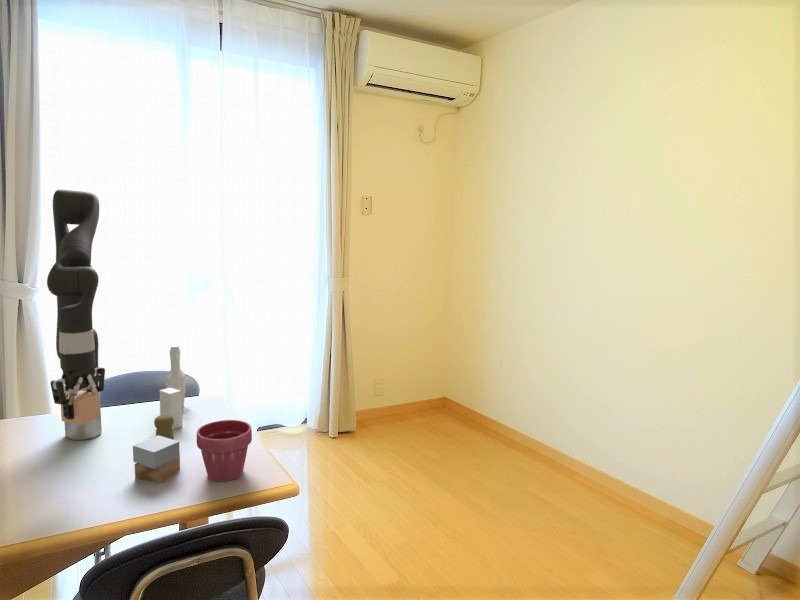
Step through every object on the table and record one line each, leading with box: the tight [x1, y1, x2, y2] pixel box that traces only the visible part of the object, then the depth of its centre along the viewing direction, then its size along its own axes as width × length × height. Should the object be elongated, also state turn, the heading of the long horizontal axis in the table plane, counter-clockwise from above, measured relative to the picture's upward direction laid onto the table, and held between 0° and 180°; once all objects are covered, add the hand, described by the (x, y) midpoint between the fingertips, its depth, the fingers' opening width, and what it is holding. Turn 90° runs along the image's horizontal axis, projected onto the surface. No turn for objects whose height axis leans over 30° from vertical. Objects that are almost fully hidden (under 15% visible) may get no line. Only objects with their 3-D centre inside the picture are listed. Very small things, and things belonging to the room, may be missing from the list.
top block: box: [132, 435, 181, 469], centre depth 151 cm, size 8×8×4 cm
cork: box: [153, 414, 175, 440], centre depth 165 cm, size 6×6×11 cm
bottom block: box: [134, 456, 181, 484], centre depth 152 cm, size 8×8×4 cm
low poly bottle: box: [165, 345, 187, 408], centre depth 201 cm, size 6×6×22 cm
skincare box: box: [158, 388, 184, 430], centre depth 185 cm, size 6×4×12 cm
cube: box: [60, 390, 102, 425], centre depth 141 cm, size 6×6×6 cm
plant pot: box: [196, 419, 253, 482], centre depth 153 cm, size 14×14×13 cm
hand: (81, 414), depth 142 cm, fingers closed on cube, 6 cm apart
